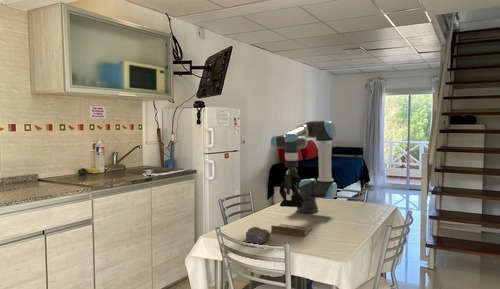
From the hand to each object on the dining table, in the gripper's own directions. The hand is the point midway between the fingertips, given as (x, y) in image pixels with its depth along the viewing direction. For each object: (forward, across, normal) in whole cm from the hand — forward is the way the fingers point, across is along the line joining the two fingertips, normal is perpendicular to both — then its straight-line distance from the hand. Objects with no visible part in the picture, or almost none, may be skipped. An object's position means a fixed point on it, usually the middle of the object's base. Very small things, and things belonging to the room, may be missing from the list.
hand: (291, 198), depth 215 cm
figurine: (+5, 0, 0) cm, 5 cm away
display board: (+19, 0, 0) cm, 19 cm away
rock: (+20, +24, -11) cm, 33 cm away
